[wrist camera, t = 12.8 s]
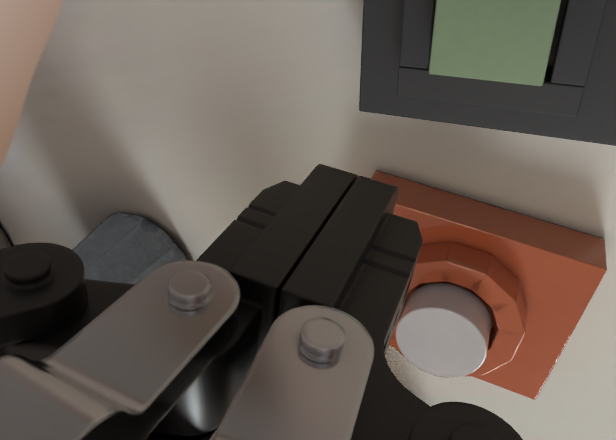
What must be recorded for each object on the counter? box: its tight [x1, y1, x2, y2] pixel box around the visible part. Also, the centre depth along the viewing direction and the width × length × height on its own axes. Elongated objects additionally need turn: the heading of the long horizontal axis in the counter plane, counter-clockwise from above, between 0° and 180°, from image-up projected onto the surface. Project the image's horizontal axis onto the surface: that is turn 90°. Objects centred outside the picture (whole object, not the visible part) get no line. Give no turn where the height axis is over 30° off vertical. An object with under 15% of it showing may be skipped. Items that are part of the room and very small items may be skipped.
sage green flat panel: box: [429, 0, 561, 86], centre depth 20 cm, size 4×4×2 cm
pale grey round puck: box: [396, 283, 492, 378], centre depth 28 cm, size 4×4×2 cm
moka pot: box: [72, 213, 187, 284], centre depth 34 cm, size 10×15×20 cm, turn 97°
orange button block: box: [371, 171, 607, 400], centre depth 31 cm, size 12×10×4 cm
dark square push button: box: [359, 0, 616, 146], centre depth 22 cm, size 11×10×5 cm
